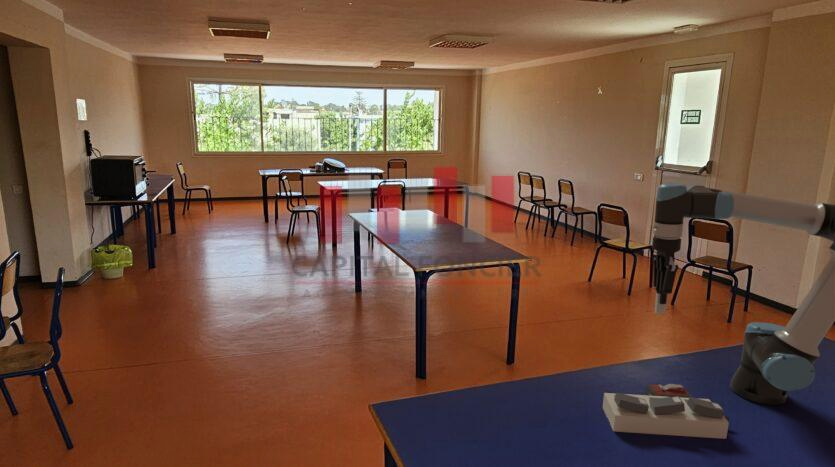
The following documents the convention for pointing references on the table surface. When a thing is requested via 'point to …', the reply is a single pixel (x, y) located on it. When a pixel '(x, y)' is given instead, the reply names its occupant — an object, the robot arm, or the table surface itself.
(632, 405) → the rocker
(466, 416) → the table surface
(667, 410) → the rocker
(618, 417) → the power strip
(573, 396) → the table surface
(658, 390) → the walkie-talkie
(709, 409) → the block
